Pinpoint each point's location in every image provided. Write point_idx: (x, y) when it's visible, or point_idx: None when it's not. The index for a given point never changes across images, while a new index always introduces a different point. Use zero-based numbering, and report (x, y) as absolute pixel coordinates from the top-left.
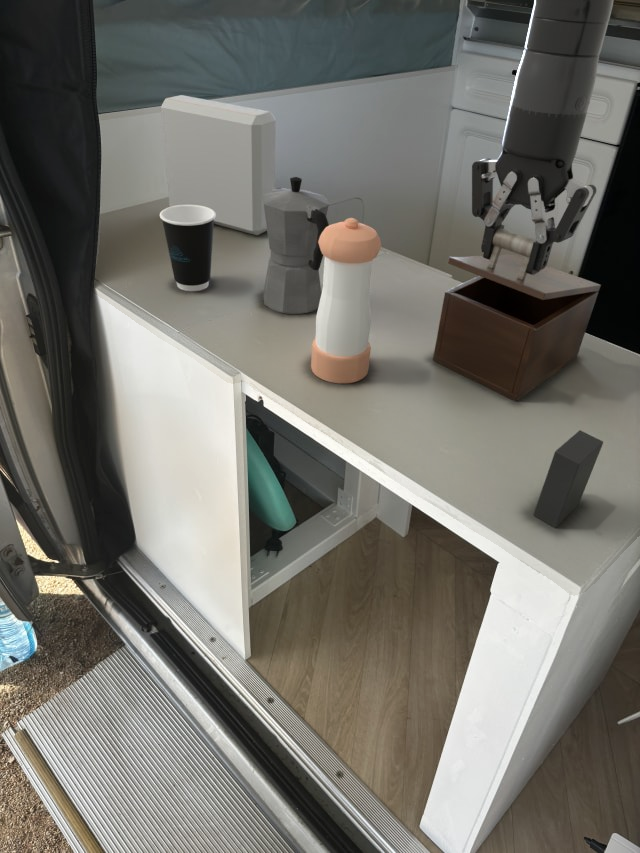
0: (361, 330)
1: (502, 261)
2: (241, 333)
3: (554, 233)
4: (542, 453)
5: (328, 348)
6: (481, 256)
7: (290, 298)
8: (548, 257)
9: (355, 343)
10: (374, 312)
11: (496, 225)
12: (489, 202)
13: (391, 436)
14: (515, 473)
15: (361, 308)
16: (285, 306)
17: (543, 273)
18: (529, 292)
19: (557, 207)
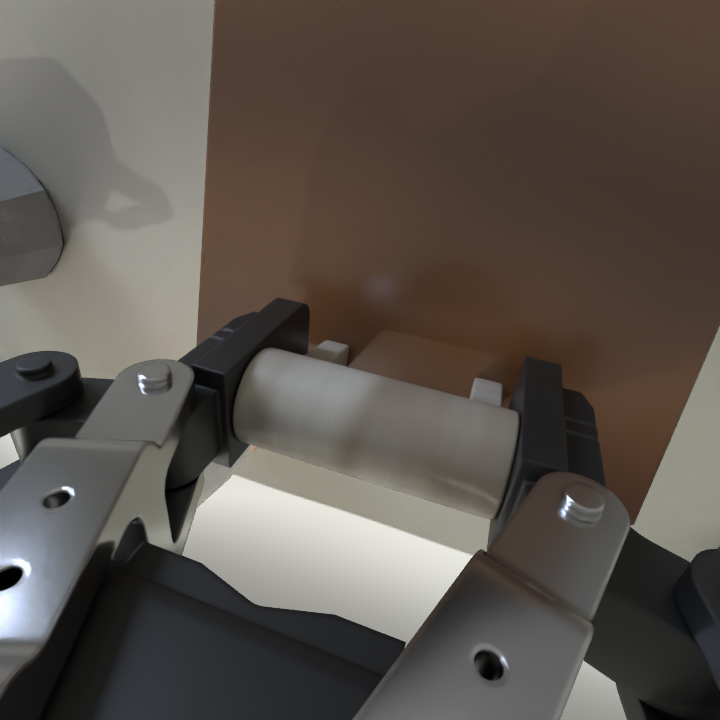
0: (235, 464)
1: (301, 89)
2: (80, 370)
3: (627, 700)
4: (689, 442)
5: None
6: (216, 151)
7: (22, 273)
8: (595, 439)
9: (246, 453)
10: (119, 123)
11: (212, 446)
12: (14, 421)
13: (420, 498)
14: (644, 507)
15: (201, 494)
16: (36, 277)
17: (537, 20)
18: None
19: (574, 676)
